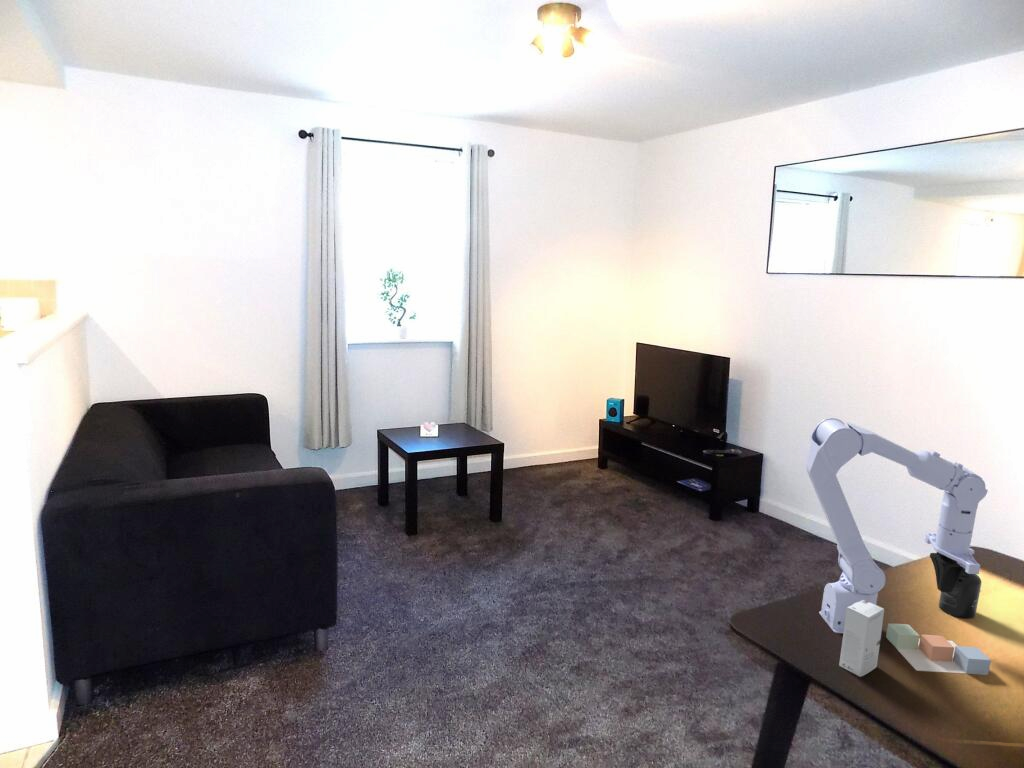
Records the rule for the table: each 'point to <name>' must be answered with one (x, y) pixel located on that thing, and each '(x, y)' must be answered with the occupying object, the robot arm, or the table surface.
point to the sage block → (902, 636)
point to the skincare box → (861, 637)
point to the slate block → (971, 660)
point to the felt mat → (929, 661)
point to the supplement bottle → (962, 597)
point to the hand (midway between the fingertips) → (944, 590)
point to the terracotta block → (936, 648)
